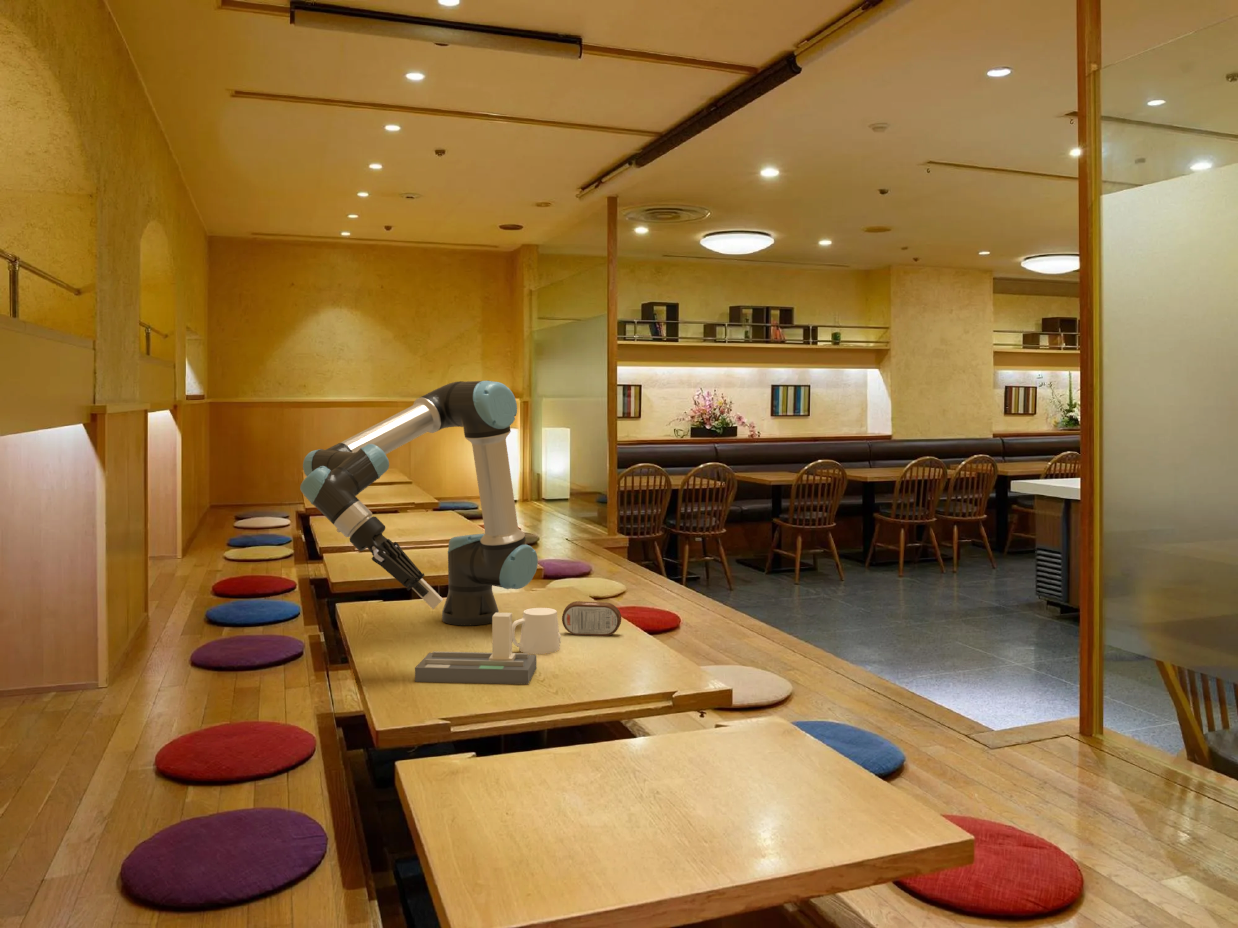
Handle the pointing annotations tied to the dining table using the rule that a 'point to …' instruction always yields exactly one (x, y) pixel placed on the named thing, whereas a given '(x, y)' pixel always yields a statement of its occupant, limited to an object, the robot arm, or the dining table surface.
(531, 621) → the mug
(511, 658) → the slider tab
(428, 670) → the switch panel
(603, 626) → the tin
